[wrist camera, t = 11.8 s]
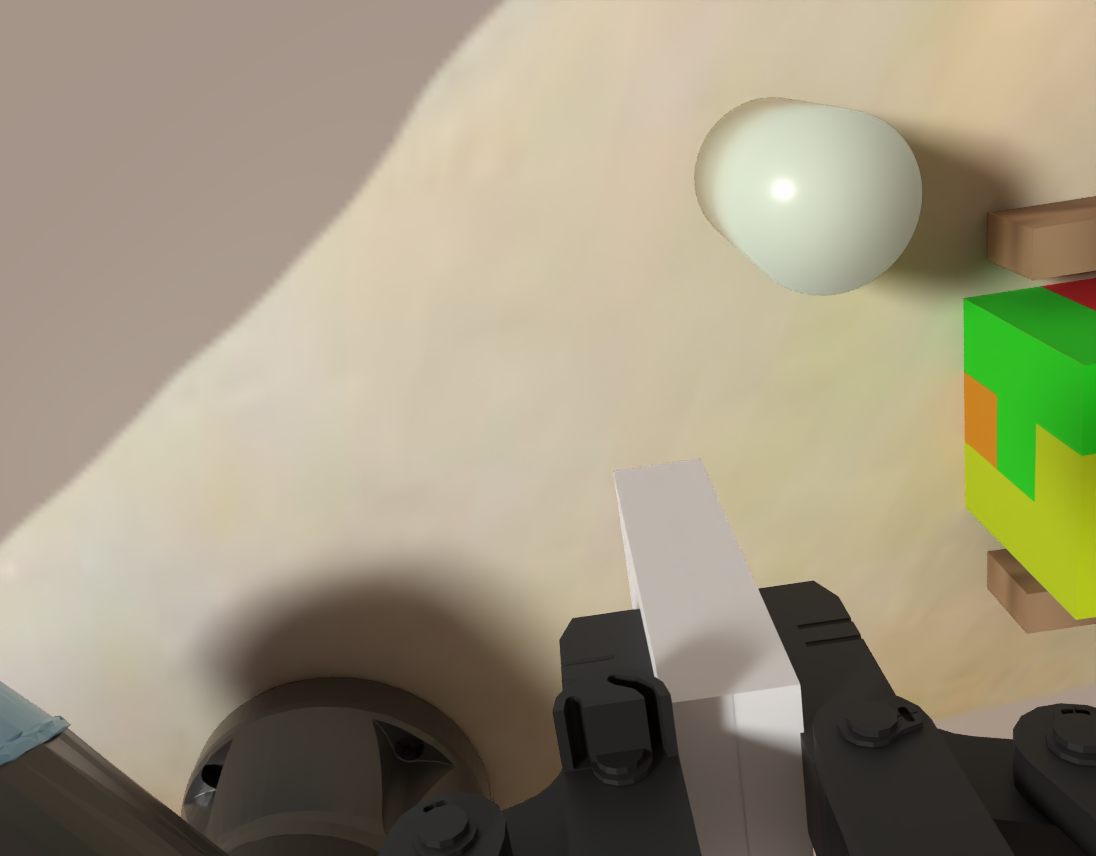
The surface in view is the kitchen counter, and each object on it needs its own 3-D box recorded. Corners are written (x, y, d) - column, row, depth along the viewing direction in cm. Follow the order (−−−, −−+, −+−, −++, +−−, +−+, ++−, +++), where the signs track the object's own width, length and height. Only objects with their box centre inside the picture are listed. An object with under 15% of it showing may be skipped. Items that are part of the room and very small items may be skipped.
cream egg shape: (702, 257, 42) (746, 308, 34) (687, 110, 40) (730, 125, 32) (844, 235, 42) (924, 280, 34) (836, 86, 40) (920, 94, 32)
